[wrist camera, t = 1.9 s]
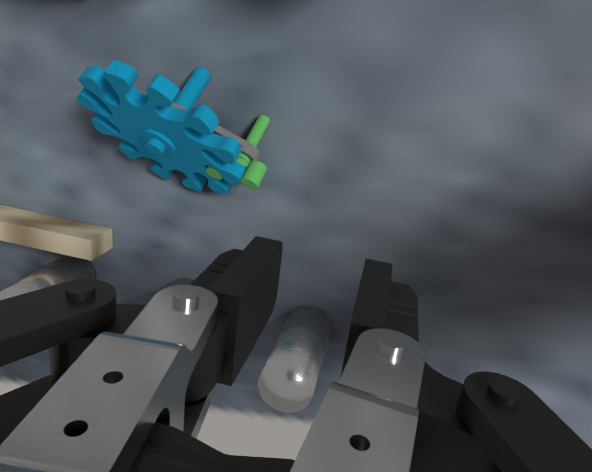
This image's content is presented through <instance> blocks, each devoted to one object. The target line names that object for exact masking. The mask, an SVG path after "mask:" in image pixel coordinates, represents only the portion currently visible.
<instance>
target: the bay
mask: <svg viewBox="0 0 592 472" xmlns="http://www.w3.org/2000/svg"><path fill="white" fill-rule="evenodd" d="M0 240H1V241H5V242H10V243H14V244H19V245H23V246H27V247H32V248H36V249H41V250H45V251H50V252H54V253H59V254H63V255H68V256H72V257H77V258H81V259H86V260H90V261H92V260H94V259H96V258H97V257H99V256H100V255H102V254H104V253H105V252H107V251H108V250H110V249H112V248H113V235H112V228H107V227H103V226H98V225H93V224H88V223H84V222H79V221H74V220H69V219H65V218H60V217H55V216H50V215H46V214H41V213H36V212H31V211H26V210H22V209H17V208H12V207H7V206H3V205H0Z"/></svg>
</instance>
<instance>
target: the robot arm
mask: <svg viewBox="0 0 592 472" xmlns="http://www.w3.org/2000/svg"><path fill="white" fill-rule="evenodd" d="M281 257H282V241H277V240H272V239H267V238H262V237H258V236H256V237H255V238H254V239H253V240H252V241H251V242H250V243H249V244H248V245H247V247H246V248H245V249H244V250H243V251H242V250H237V249H233V250H230V251H227V252H225V253H222V254H220V255H219V256H218V257H217V258H216V259H215V260H214V261H213V263H212V264H210V265H209V266H208V267H207V268H206V270H204V271H203V272H202V273H201V274H200V275H199V276H198V277H197V278H196V279H195V280H194V281H193V282H192V283H191V284H190V285H176V286H171V287H167V288H164V289H162V290H160V291H159V292H157V293H156V294H155V295H154V297H153V298H152V299H151V300H150V302H149V303H148V304H147V305H129V304H116V291H115V289H114V287H113V286H111V285H110V284H108V283H106V282H103V281H99V280H90V279H81V280H72V281H67V282H64V283H60V284H56V285H53V286H49V287H46V288H42V289H39V290H35V291H32V292H28V293H24V294H21V295H17V296H14V297H10V298H7V299H3V300H0V367H1V366H3V365H6V364H9V363H11V362H14V361H17V360H19V359H22V358H25V357H27V356H30V355H33V354H35V353H38V352H41V351H43V350H46V349H49V355H50V369H51V375H49V376H46V377H44V378H41V379H39V380H37V381H34V382H32V383H29V384H27V385H25V386H22V387H20V388H17V389H15V390H13V391H10V392H8V393H5V394H3V395H1V396H0V472H592V449H591V448H590V447H589V446H588V445H587V444H586V443H585V442H584V441H583V440H582V439H581V438H580V437H579V436H578V435H577V434H575V433H574V432H573V431H572V430H571V429H570V428H569V427H568V426H567V425H566V424H565V423H564V422H563V421H562V420H561V419H560V418H559V417H558V416H557V415H556V414H555V413H554V412H553V411H552V410H551V409H550V408H549V407H548V406H547V405H546V404H545V403H544V402H543V401H542V400H541V399H540V398H539V397H538V396H537V395H536V394H535V393H534V392H533V391H531V390H530V389H529V388H528V387H526V386H525V385H523V384H522V383H520V382H518V381H516V380H514V379H512V378H510V377H507V376H505V375H501V374H498V373H493V372H476V373H472V374H470V375H469V376H467V378H466V379H465V381H464V384H461V383H459V382H457V381H454V380H452V379H450V378H448V377H446V376H444V375H442V374H440V373H438V372H437V371H435V370H434V369H432V368H431V367H430V366H429V365H428V364H427V363H426V362H425V358H426V354H425V350H424V349H423V347H422V346H421V345H420V344H419V341H418V317H417V316H418V308H417V307H418V304H417V295H416V294H415V292H414V291H413V290H412V289H411V287H410V286H409V285H405V284H400V283H395V282H391V275H392V264H390V263H385V262H380V261H376V260H371V259H366V260H365V265H364V269H363V273H362V278H361V282H360V286H359V291H358V295H357V299H356V304H355V308H354V312H353V317H352V321H351V326H350V331H349V336H348V342H347V347H346V352H345V357H344V362H343V368H342V373H341V378H340V380H339V382H338V383H337V382H334V381H333V382H332V383H331V384H330V386H329V388H328V390H327V393H326V395H325V397H324V399H323V401H322V403H321V406H320V408H319V410H318V412H317V414H316V416H315V419H314V421H313V423H312V425H311V427H310V430H309V432H308V434H307V436H306V438H305V440H304V443H303V445H302V447H301V449H300V451H299V453H298V456H297V458H296V460H295V461H294V460H291V459H280V458H264V457H248V456H233V455H227V454H223V453H221V452H219V451H217V450H215V449H213V448H212V447H210V446H208V445H206V444H205V443H203V442H201V441H199V440H197V439H196V438H197V436H198V433H199V431H200V428H201V426H202V423H203V421H204V418H205V416H206V413H207V411H208V408H209V405H210V399H211V391H212V389H213V388H214V386H215V384H216V383H221V384H225V385H228V386H232V384H233V382H234V381H235V379H236V377H237V375H238V373H239V371H240V370H241V368H242V366H243V364H244V362H245V361H246V359H247V357H248V355H249V353H250V352H251V350H252V348H253V346H254V344H255V343H256V341H257V339H258V337H259V335H260V334H261V332H262V330H263V328H264V326H265V325H266V323H267V321H268V319H269V317H270V316H271V314H272V311H273V308H274V305H275V301H276V296H277V289H278V281H279V273H280V265H281Z"/></svg>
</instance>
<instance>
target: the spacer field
mask: <svg viewBox="0 0 592 472" xmlns="http://www.w3.org/2000/svg"><path fill="white" fill-rule="evenodd" d="M81 279H90V280H96V273H95V270H94V268H93V266H92V265H91V263H90V262H89V261H88V260H86V259H81V258H77V257H72V256H68V255H65V256H63V257H61V258H59V259H58V260H56V261H54V262H52V263H50V264H49V265H47V266H45V267H43V268H41V269H40V270H38V271H36V272H34V273H33V274H31V275H29V276H27V277H25V278H24V279H22V280H20V281H18V282H16V283H15V284H13V285H11V286H9V287H8V288H6V289H4V290H2V291H0V300H3V299H7V298H10V297H14V296H17V295H21V294H24V293H28V292H32V291H35V290H39V289H42V288H46V287H49V286H53V285H56V284H60V283H64V282H67V281H72V280H81ZM192 282H193V280H190V279H179V280H176V281H175V282H173V283H172V284H171V285H170V286H169V287H171V286H176V285H190V284H191V283H192ZM331 332H332V326H331V322H330V320H329V318H328V316H327V315H326V314H325V313H324V312H323V311H321V310H320V309H318V308H315V307H312V306H301V307H298V308H296V309H294V310H293V311H292V312H291V313H290V314H289V316H288V318H287V320H286V322H285V324H284V326H283V328H282V330H281V333H280V335H279V337H278V339H277V341H276V343H275V345H274V347H273V349H272V351H271V353H270V355H269V357H268V359H267V362H266V364H265V366H264V368H263V370H262V372H261V374H260V376H259V379H258V385H257V386H258V391H259V394H260V396H261V398H262V399H263V400H264V401H265V403H266V404H268V405H269V406H270V407H272V408H273V409H275V410H278V411H281V412H285V413H295V412H299V411H301V410H303V409H305V408H306V407H307V406H308V405H309V404H310V402H311V400H312V397H313V393H314V390H315V387H316V383H317V380H318V376H319V373H320V370H321V366H322V363H323V359H324V356H325V353H326V349H327V346H328V342H329V339H330V336H331Z"/></svg>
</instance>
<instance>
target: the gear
mask: <svg viewBox="0 0 592 472" xmlns="http://www.w3.org/2000/svg"><path fill="white" fill-rule="evenodd" d="M137 77H138V75H137V72H136V70H135V69H134V68H133V67H131V66H129V65H127V64H125V63H122V62H119V61H116V60H113V61H112V63H111V64H110V65H109V67H108V68H107V69H106V71H104V70H103V69H102V68H101V67H99V66H90V67H87V68H86V69H85V71H84V72H83V73H82V75H81V76H80V77H79V78H78V80H79V81H80V83H81V84H82V85H83V86H84V89H83V90H82V91H81V93H80V94H79V95H78V98H77V102H78V103H79V104H81V105H82V106H83V107H85V108H87V109H89V110H91V111H94V112H96V114H95V116H94V117H93V118H92V123H93V125H94V127H95V128H96V129H97V131H99V132H100V133H102V134H105V135H112V136H116V137H118V138H121V139H123V140H122V141H121V143H120V144H119V146H118V148H119V150H120V151H121V152H122V153H124V154H125V155H126V156H127V157H128V158H130V159H133V160H135V159H137V158H138V157H146V158H150V159H154V160H155V162H154V163H153V165H152V166H151V168H150V170H151V171H152V172H154V173H155V174H156V175H158V176H160V177H161V178H163V179H165V180H168V179H169V177H170V176H171V174H172V173H173V171H174V170H179V171H181V172H183V173H184V174H185V175H186V176H185V178H184V179H183V181H182V183H183V185H184V186H186V187H188V188H190V189H192V190H195V191H198V192H201V190H202V188H203V187H204V185H205V183H206V181H207V180H206V178H207V179H208V186H209V188H210V189H211V190H213V191H214V192H218V193H227V192H228V191H229V189H230V187H231V185H234V184H237V183H238V182H239V181H240V180H241V183H242V184H243V185H244V186H246V187H247V188H249V189H252V190H256V189H257V188H258V186H259V184H260V182H261V181H262V179H263V177H264V175H265V173H266V171H267V167H266V166H265V165H264V164H263V163H261V162H259V161H258V159H259V157H260V151H259V150H258V148H257V147H256V146H257V145H258V143H259V141H260V139H261V137H262V135H263V134H264V132H265V130H266V128H267V126H268V124H269V123H270V119H269V118H268V117H267V116H265V115H259V117H258V119H257V121H256V122H255V124H254V126H253V128H252V129H251V131H250V133H249V135H248V137H247V138H246V140H244V139H242V138H240V137H239V136H237V135H235V134H233V133H231V132H229V131H227V130H226V129H224V128H222V127H220V126H218V123H219V122H220V121H219V119H218V118H217V116H216V115H215V113H214V112H213V111H212V110H211V109H210V108H209V107H208V106H207V105H203V104H200V105H198V106H197V107H196V108H194V109H191V108H192V107H193V105H194V104H195V102H196V101H197V99H198V97H199V96H200V94H201V93H202V91H203V90H204V88H205V86H206V85H207V83H208V82H209V80H210V79H211V75H210V73H209V72H208V71H207V70H206V69H204V68H202V67H197V68H196V69H195V70H194V72H193V73H192V75H191V76H190V78H189V79H188V81H187V82H186V84H185V85H184V87H183V88H182V90H181V92H180V89H179V88H178V87H177V86H176V85H175V84H173V83H172V82H171V81H169V80H168V79H167V78H165V77H163V76H162V75H160V74H158V75H156V76H155V78H154V79H153V80H152V82H151V83H150V85H149V86H148V88H147V94H148V95H144V94H142V93H140V92H139V91H138V90H136V89H135V87H134V86H133V83H134V82H135V80H136V79H137ZM112 86H113V87H112ZM178 94H179V95H178ZM176 97H177V98H176ZM174 100H175V101H174ZM243 174H244V175H243ZM203 175H204V176H205V177H206V178H205V177H204V176H203ZM242 176H243V177H242ZM241 178H242V179H241Z"/></svg>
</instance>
